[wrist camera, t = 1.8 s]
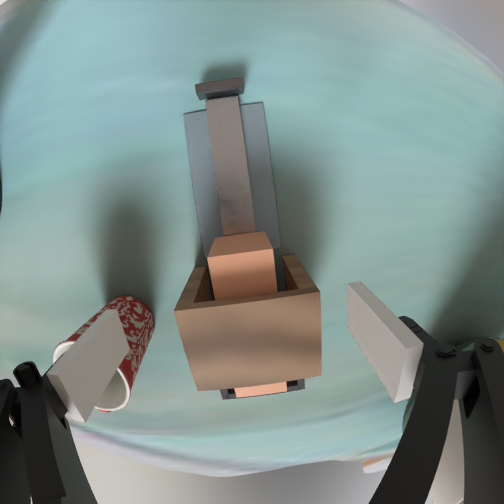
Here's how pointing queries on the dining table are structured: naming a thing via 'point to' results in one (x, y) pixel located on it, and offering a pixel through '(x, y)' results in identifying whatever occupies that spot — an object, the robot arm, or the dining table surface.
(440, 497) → the planter
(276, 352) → the open box
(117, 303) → the mug
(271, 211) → the pad
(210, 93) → the track
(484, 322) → the dining table surface
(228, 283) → the block
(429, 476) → the robot arm
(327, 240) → the dining table surface
